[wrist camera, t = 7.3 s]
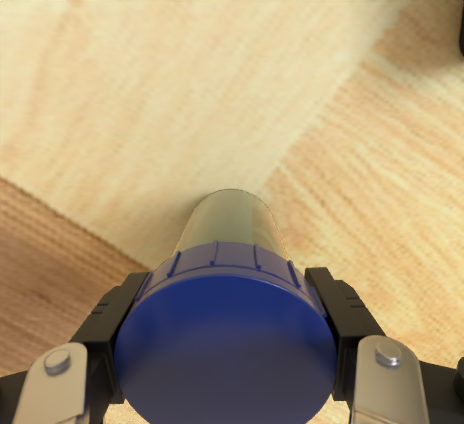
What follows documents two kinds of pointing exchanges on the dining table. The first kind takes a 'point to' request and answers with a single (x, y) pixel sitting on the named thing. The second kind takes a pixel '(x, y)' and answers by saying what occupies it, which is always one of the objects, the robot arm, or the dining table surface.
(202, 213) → the jar
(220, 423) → the jar lid
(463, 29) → the beige rounded block
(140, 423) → the dining table surface
